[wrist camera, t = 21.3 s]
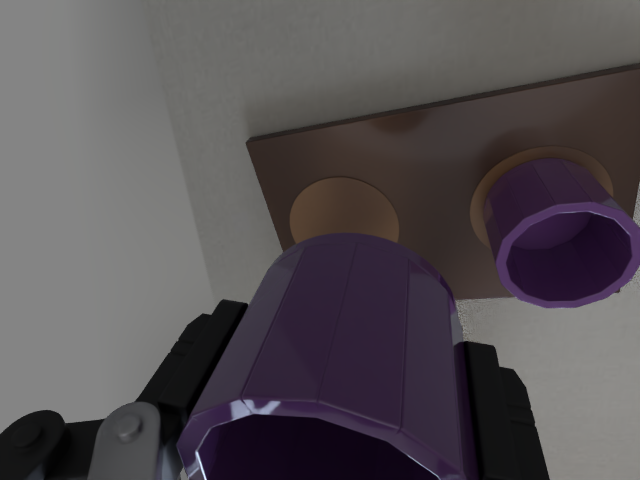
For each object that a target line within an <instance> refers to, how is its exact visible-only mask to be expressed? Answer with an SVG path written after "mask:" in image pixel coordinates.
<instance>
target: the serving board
mask: <svg viewBox="0 0 640 480" xmlns="http://www.w3.org/2000/svg"><path fill="white" fill-rule="evenodd" d="M246 146H247V149H248V152H249V154H250V157H251V160H252V163H253V166H254V169H255V172H256V175H257V178H258V180H259V183H260V186H261V189H262V192H263V195H264V198H265V201H266V204H267V206H268V209H269V212H270V215H271V218H272V221H273V224H274V227H275V230H276V232H277V235H278V238H279V241H280V244H281V247H282V250H283V252H284V251H286V250H287V249H289V248H290V247H292V246H293V245H295V244H297V243H299V242H301V241H303V240H306V239H309V238H312V237H315V236H319V235H324V234H329V233H342V232H346V233H361V234H368V235H374V236H377V237H381V238H385V239H388V240H391V241H393V242H396V243H398V244H401V245H403V246H405V247H407V248H409V249H410V250H412V251H414V252H416V253H417V254H418V255H420V256H421V257H423V258H424V259H426V260H427V261H428V262H429V263H430V264H431V265H432V266H433V267H435V268H436V270H437V271H438V272H439V273H440V274H441V275H442V277H443V278H444V279H445V281H446V282H447V284H448V285H449V287H450V289H451V291H452V293H453V296H454V298H455V300H465V299H487V298H510V297H515V296H514V295H513V294H512V293H511V292H510V291H508V290H507V289H506V288H505V287H504V286H503V285H502V284H501V282H500V279H499V275H498V272H497V269H496V265H495V261H494V258H493V254H492V250H491V246H490V243H489V239H488V235H487V231H486V228H485V224H484V220H483V206H484V202H485V199H486V196H487V194H488V192H489V191H490V189H491V188H492V186H493V185H494V184H495V182H496V181H497V180H498V179H499V178H500V177H502V176H503V175H504V174H505V173H507V172H508V171H509V170H511V169H513V168H515V167H516V166H519V165H521V164H523V163H526V162H529V161H533V160H537V159H545V158H558V159H565V160H569V161H572V162H575V163H577V164H579V165H581V166H583V167H584V168H586V169H587V170H588V171H589V172H590V173H591V174H592V175H593V176H594V177H595V178H596V179H597V180H598V181H599V182H600V184H601V185H602V186H603V187H604V188H605V189H606V190H607V191H608V192H609V194H610V195H611V196H612V197H613V198H614V199H615V200H616V201H617V203H618V204H619V205H620V206H621V207H622V208H623V209H624V210H625V212H626V213H627V214H628V215H629V216H630V217H631V218H632V219H633V215H634V209H635V203H636V198H637V192H638V187H639V181H640V63H638V64H632V65H627V66H622V67H617V68H612V69H606V70H601V71H596V72H591V73H585V74H580V75H575V76H570V77H565V78H559V79H554V80H549V81H544V82H538V83H533V84H528V85H523V86H518V87H512V88H507V89H502V90H497V91H491V92H486V93H481V94H476V95H471V96H465V97H460V98H455V99H450V100H444V101H439V102H434V103H429V104H424V105H418V106H413V107H408V108H403V109H397V110H392V111H387V112H382V113H376V114H371V115H366V116H361V117H356V118H350V119H345V120H340V121H335V122H329V123H324V124H319V125H314V126H309V127H303V128H298V129H293V130H288V131H282V132H277V133H272V134H267V135H262V136H256V137H251V138H250V139H249V140H248V141H247V142H246ZM619 292H620V289H618V290H617V291H616V292H614V293H619Z"/></svg>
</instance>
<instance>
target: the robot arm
mask: <svg viewBox="0 0 640 480" xmlns="http://www.w3.org/2000/svg"><path fill="white" fill-rule="evenodd" d="M247 308H248V304H247V303H243V302H237V301H231V300H225V299H223V300H221V301H220V302H219V304H218V305H217V307H216V309H215V310H214V312H213V313H212V315H209V314H201V315H200V316H199V317H197V318H196V319H195V320H193V321H192V322H191V323H190V324H188V325H187V327H186V328H185V330H184V331H183V333H182V334H181V336H180V337H179V340H178V341H177V342H176V343H175V344H174V346H173V348H172V349H171V352H170V353H168V355H167V356H166V358H165V359H164V361H163V362H162V363H161V365H160V366H159V368H158V369H157V371H156V372H155V374H154V375H153V377H152V378H151V380H150V381H149V382H148V384H147V385H146V387H145V389H144V390H143V391H142V393H141V394H140V396H139V397H138V398H137V399H136V401H135V402H132V403H129V404H126V405H123V406H121V407H120V408H118V409H116V410H115V411H113V412H112V413H111V414H110V415H109V416H108V417H107V418H105V419H101V420H93V421H84V422H75V423H65V422H64V420H63V418H62V416H61V415H60V414H59V413H57V412H54V411H51V410H42V411H37V412H33V413H30V414H28V415H26V416H23V417H22V418H20V419H18V420H17V421H15V422H14V423H12V424H11V425H10V426H9V427H8V428H6V429H5V430H4V431H3V432H2V433H1V434H0V480H181V475H180V472H181V470H182V468H183V464H182V461H181V458H180V456H179V453H178V450H177V448H176V441H177V439H178V437H179V435H180V434H181V432H182V430H183V428H184V426H185V424H186V422H187V420H188V418H189V416H190V414H191V412H192V410H193V408H194V407H195V405H196V403H197V401H198V399H199V397H200V395H201V394H202V392H203V390H204V388H205V386H206V384H207V382H208V380H209V379H210V377H211V375H212V373H213V371H214V369H215V367H216V366H217V364H218V362H219V360H220V358H221V356H222V354H223V353H224V351H225V349H226V347H227V345H228V343H229V341H230V340H231V338H232V336H233V334H234V332H235V330H236V328H237V327H238V325H239V323H240V321H241V319H242V317H243V315H244V314H245V312H246V310H247ZM464 348H465V357H466V366H467V374H468V383H469V391H470V400H471V409H472V417H473V426H474V434H475V443H476V452H477V460H478V469H479V477H480V480H550V479H549V475H548V471H547V467H546V463H545V459H544V455H543V452H542V448H541V444H540V440H539V436H538V432H537V428H536V427H535V420H534V417H533V413H532V410H531V405H530V401H529V397H528V393H527V389H526V387H525V385H524V384H523V382H522V381H521V379H520V378H519V377H518V375H517V374H516V372H515V371H514V369H509V368H504V367H499V363H498V358H497V353H496V349H495V347H494V346H493V345H487V344H481V343H475V342H469V341H464Z"/></svg>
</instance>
